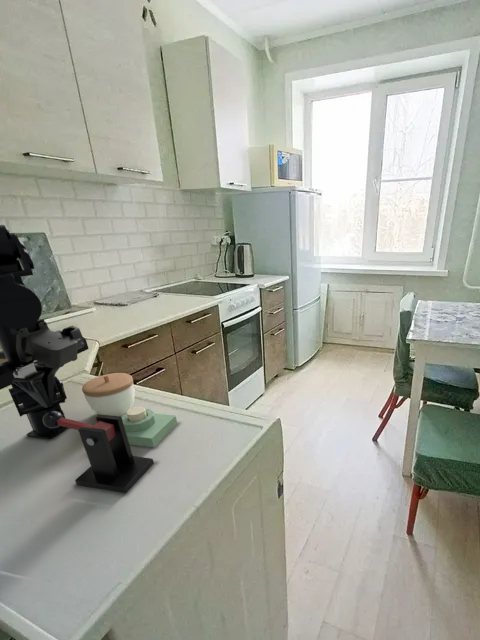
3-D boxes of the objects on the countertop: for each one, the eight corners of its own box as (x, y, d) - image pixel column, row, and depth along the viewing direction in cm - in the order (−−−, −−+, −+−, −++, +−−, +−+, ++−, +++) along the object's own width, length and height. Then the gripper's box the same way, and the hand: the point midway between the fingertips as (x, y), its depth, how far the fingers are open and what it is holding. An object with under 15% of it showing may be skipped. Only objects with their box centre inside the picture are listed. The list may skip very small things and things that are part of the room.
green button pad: (103, 441, 73) (98, 424, 71) (131, 419, 81) (126, 403, 79) (153, 447, 70) (149, 430, 68) (177, 423, 78) (174, 408, 76)
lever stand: (76, 485, 61) (56, 433, 56) (108, 457, 68) (92, 408, 63) (126, 493, 59) (108, 439, 54) (154, 463, 65) (140, 413, 61)
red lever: (40, 429, 61) (36, 414, 59) (54, 420, 63) (51, 406, 62) (105, 446, 58) (102, 431, 57) (117, 436, 61) (115, 421, 60)
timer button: (124, 421, 73) (122, 414, 72) (135, 412, 76) (133, 405, 75) (139, 423, 72) (137, 415, 71) (150, 414, 75) (148, 407, 74)
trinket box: (122, 424, 79) (111, 387, 75) (80, 421, 81) (68, 384, 77) (148, 401, 88) (140, 367, 84) (110, 399, 90) (100, 365, 86)
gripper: (-7, 337, 43) (38, 442, 50) (101, 302, 59) (124, 386, 66) (-72, 334, 46) (-21, 434, 53) (48, 302, 62) (75, 382, 69)
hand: (48, 406), depth 60 cm, fingers closed
